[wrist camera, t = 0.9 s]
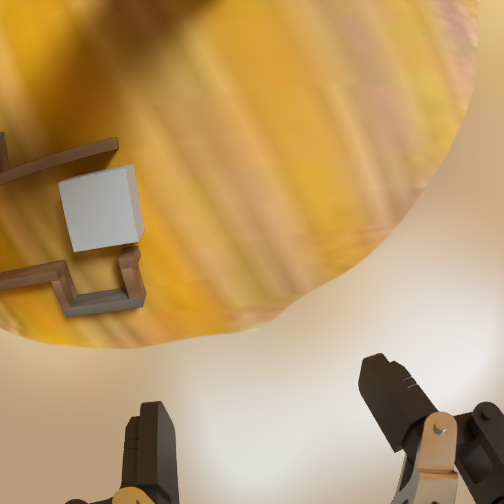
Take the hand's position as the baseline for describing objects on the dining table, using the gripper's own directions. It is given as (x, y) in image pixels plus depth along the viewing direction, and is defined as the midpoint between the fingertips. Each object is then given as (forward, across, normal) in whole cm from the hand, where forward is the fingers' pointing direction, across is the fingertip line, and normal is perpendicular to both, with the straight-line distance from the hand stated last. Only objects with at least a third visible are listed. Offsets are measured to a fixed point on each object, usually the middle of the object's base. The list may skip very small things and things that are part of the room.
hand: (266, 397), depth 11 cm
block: (+19, +10, -4) cm, 22 cm away
